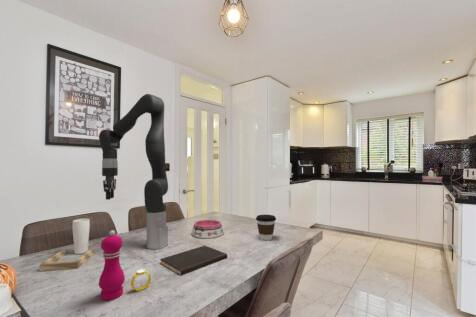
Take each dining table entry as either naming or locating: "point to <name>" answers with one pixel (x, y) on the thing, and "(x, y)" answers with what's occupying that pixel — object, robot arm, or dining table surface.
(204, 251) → the hardcover book
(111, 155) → the robot arm
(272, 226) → the coffee cup
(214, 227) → the dog bowl
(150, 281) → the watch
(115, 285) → the pepper mill
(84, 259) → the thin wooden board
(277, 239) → the dining table surface
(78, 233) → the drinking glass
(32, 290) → the dining table surface
